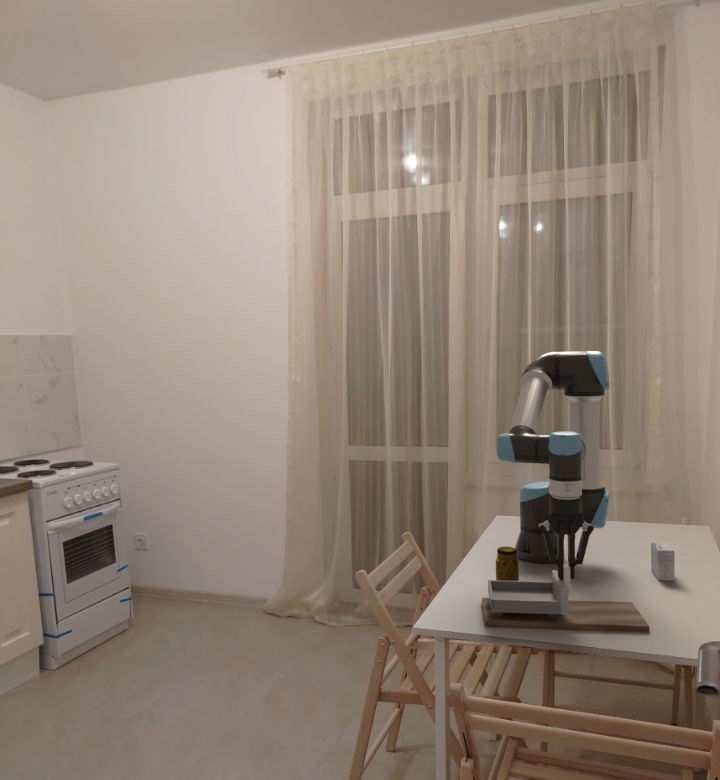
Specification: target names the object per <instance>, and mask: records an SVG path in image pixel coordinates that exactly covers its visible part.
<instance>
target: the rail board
mask: <svg viewBox="0 0 720 780" xmlns="http://www.w3.org/2000/svg"><path fill="white" fill-rule="evenodd" d="M481 603H482V604H481V605H482V610H483V618H484V619H483V620H484V627H486V628H487V627H488V628H512V629H513V628H514V629H534V630H535V629H537V630H538V629H543V630H564V631H566V630H569V631H595V632H596V631H597V632H598V631H599V632H621V633H623V632H624V633H650V625H649V623H648V622H647V621H646V619H645V618H644V617H643V615H642V614H641V612H640V611H639V610H638V609H637V607H636V606H635V605H634V604H633V602H632V601H605V600H604V601H603V600H600V601H599V600H570V599H568V615H566V614H555V619H553V620H551V619H549V617H548V614H535V613H505V612H503V617H502V618H499V617H497V614H496V612H491V606H490V600H489V597H481Z"/></svg>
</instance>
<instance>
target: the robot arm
mask: <svg viewBox="0 0 720 780" xmlns="http://www.w3.org/2000/svg"><path fill="white" fill-rule="evenodd" d="M519 387H520V393H519V395H518V400H517V403H516V406H515V410H514V413H513V417H512V420H511V423H510V428H509V429H508V430H509V431H508V432H506V433H500V434H498V436H497V438H496V444H495V445H496V447H495V449H496V456H497V459H498V460H500V462H506V463H507V462H508V463H513V464H516V463H520V464H543V465H549V467H548V468H549V469H548V471H549V475H548V480H549V481H537V482H531V483H528V484H527V483H526V484H524V485H523V486H521V488H520V492H519V500H518V501H519V515H520V516H519V520H520V521H519V522H520V524H519V525H520V527H519V528H520V530H519V534H518V537H517V540H516V543H515V546H514V548H515V549H516V550H517V559H518V560H519V559H520V560H522V561H525V562H530V563H536V564H537V563H538V564H552V565H555V566H557V570H558V577H559V579H563V580H564V582H565V584H566V586H567V588H568V595H571V580H575V577H576V576H575V573H576V570H575V568H576V566H578V565H580V566H581V565H583V563H584V559H585V555H586V552H587V547H588V543H589V539H590V535H592V532H593V531H594V529H603V528H605V526H606V523H607V517H608V512H609V506H610V498H611V492H610V491H609V490H607V489H606V484H605V483H604V482H603V481H602V480H601V478H600V477H601V476H600V473H601V472H600V465H601V464H600V463H601V462H600V460H601V459H600V402H601V400H602V399H603V398H604V397H605V395H606V394H605V391H608V390H610V389H611V387H610V375H609V368H608V363H607V358H606V355H605V353H604V352H601V351H596V350H595V351H594V350H585V351H584V350H583V351H582V350H579V351H577V350H576V351H550V352H547V353H544V354H542V355H540V356H539V357H537V358H535V359H534V360H533V361H531V362H530V363H529V364H528V365H527V366H526V368H525V369H524V371H522V373H521V376H520V380H519ZM553 390H560V391H561V390H562V391H563V397H565V399H566V400H568V404H569V408H568V409H569V410H568V411H569V413H568V414H569V415H568V416H569V431H555V432H551V433H550V434H539V432H540V426H541V422H542V419H543V413H544V408H545V404H546V400H547V396H548V395H549V394H550V393H551V392H552V391H553ZM580 528H581V530H582V532H581V535H580V539H579V544H578V548H577V550H576V534H577V533H578V532H579V530H580ZM565 535H567V563H565ZM576 551H577V552H576Z"/></svg>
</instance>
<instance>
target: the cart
mask: <svg viewBox="0 0 720 780" xmlns="http://www.w3.org/2000/svg"><path fill="white" fill-rule="evenodd" d="M487 593H488V598H489V600H490V606H491V612H496V614H497V617H499V618H502V617H503V612H505V613H535V614H548V617H549V619H551V620H553V619H555V614H566V615H568V600H569V594H568V588H567V586H566V584H565V582H564V580H563V579H559V577H558V569H556V570H555V569H553V570H551V581H541V580H540V581H538V580H537V581H534V580H533V581H532V580H519V581H503V580H496V579H488V580H487Z"/></svg>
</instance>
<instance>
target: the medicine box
mask: <svg viewBox="0 0 720 780" xmlns="http://www.w3.org/2000/svg"><path fill="white" fill-rule="evenodd" d="M650 552H651V553H650V557H651V558H650V563H651V564H650V565H651V566H650V570H651V572H652V573H653V575H654V576H655V577H656V579H657V580H658V581H662V582H663V581H664V582H666V581H667V582H669V581H670V582H675V581H676V578H675V576H676V574H675V573H676V569H675V550H674V549H673V548H672V547H671V546H670V545H669V544H668V543H667V542H651V543H650Z"/></svg>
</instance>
